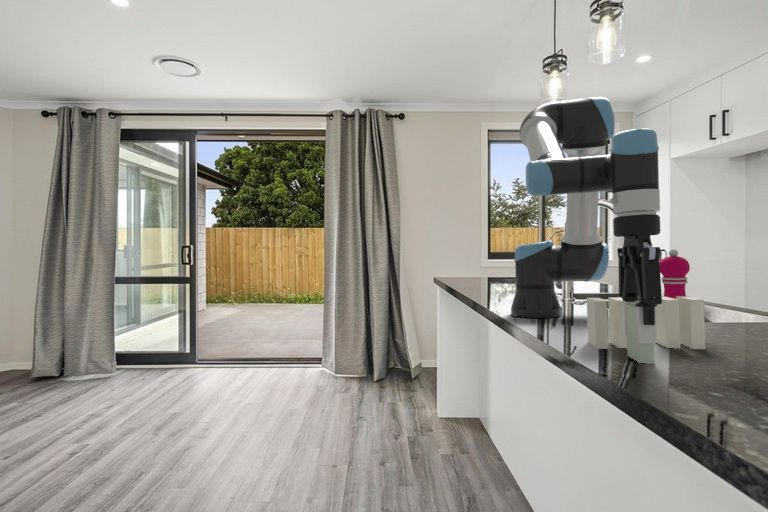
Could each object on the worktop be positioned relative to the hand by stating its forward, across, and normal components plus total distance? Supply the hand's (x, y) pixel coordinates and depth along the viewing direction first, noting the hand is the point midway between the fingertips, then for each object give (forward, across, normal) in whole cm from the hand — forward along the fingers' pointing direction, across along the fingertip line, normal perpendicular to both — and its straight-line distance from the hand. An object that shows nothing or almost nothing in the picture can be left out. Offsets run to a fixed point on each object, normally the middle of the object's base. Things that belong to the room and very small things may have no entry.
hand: (639, 338), depth 80 cm
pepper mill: (+4, -23, +16) cm, 28 cm away
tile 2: (+4, -12, 0) cm, 13 cm away
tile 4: (+4, -12, +10) cm, 16 cm away
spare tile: (+4, 0, 0) cm, 4 cm away
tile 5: (+4, -12, +14) cm, 19 cm away
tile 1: (+4, -12, -4) cm, 13 cm away
